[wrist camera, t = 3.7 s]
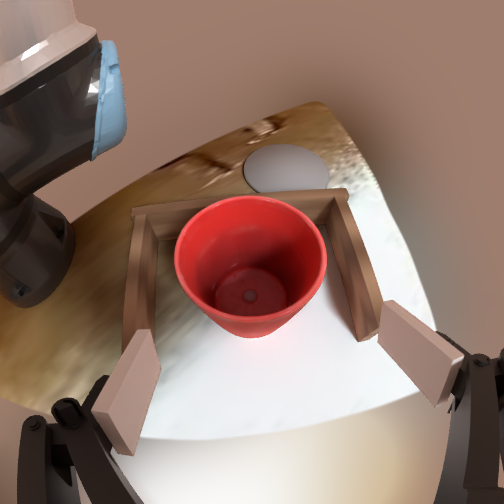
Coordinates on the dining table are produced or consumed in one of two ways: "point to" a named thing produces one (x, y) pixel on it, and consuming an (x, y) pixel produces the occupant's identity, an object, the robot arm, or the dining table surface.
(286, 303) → the flower pot
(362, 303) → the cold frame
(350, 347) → the dining table surface
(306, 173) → the slate mat
